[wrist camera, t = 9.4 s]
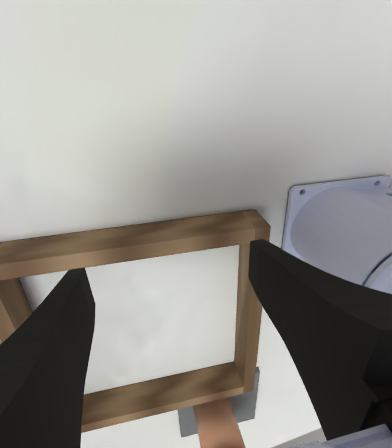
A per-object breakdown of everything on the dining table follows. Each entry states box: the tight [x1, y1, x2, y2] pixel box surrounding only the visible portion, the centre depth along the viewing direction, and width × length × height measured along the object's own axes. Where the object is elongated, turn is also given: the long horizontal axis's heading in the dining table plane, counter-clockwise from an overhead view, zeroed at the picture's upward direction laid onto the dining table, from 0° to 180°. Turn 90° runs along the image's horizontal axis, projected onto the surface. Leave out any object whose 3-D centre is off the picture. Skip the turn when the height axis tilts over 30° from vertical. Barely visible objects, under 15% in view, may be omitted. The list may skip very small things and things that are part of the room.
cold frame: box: [0, 210, 271, 433], centre depth 25 cm, size 30×20×3 cm
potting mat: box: [178, 367, 260, 437], centre depth 35 cm, size 10×10×1 cm
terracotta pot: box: [193, 397, 245, 448], centre depth 31 cm, size 5×5×7 cm
